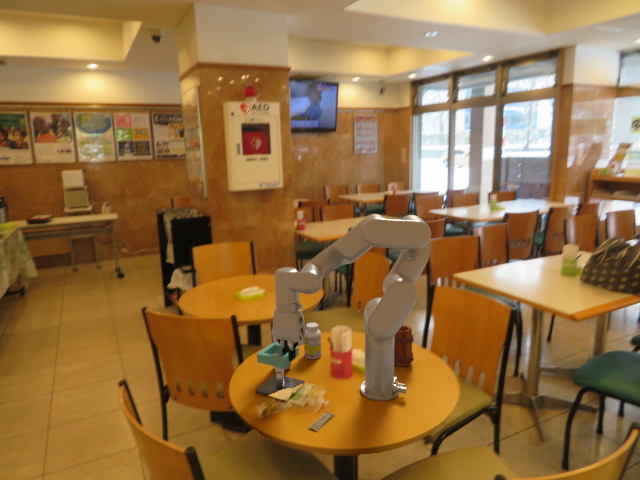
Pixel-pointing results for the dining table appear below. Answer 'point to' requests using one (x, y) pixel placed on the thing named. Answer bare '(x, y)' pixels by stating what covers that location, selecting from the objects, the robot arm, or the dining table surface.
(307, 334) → the supplement bottle
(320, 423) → the snack bar
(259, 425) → the dining table surface
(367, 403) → the dining table surface
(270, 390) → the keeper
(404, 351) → the mug
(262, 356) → the teal square frame
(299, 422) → the dining table surface
